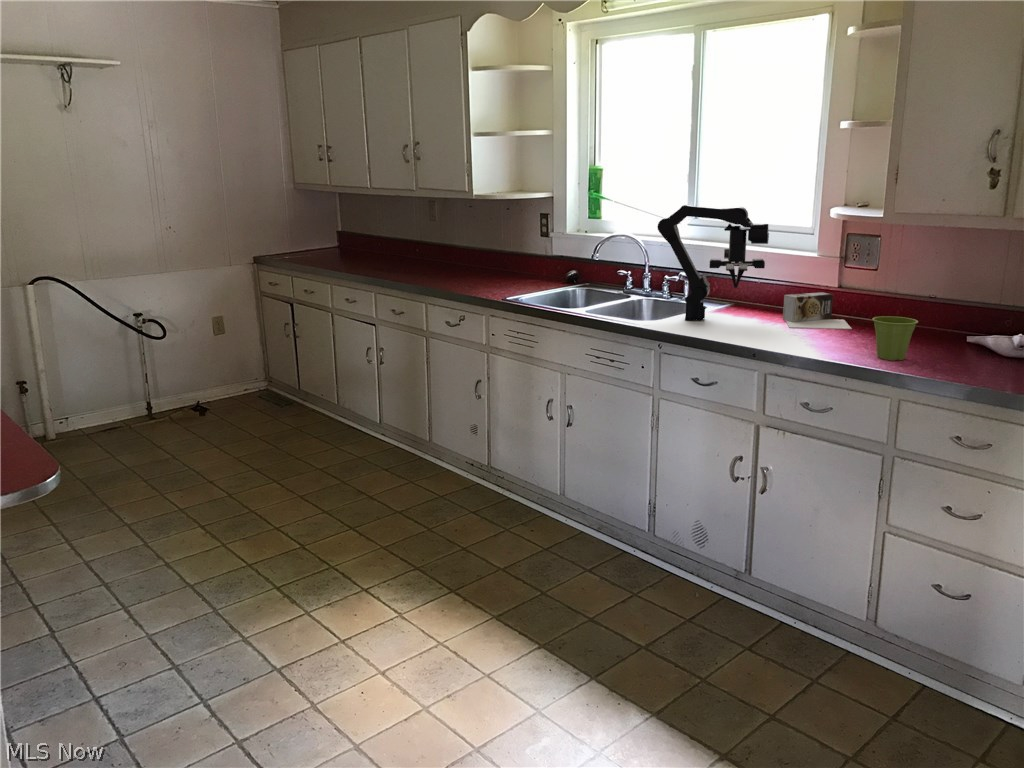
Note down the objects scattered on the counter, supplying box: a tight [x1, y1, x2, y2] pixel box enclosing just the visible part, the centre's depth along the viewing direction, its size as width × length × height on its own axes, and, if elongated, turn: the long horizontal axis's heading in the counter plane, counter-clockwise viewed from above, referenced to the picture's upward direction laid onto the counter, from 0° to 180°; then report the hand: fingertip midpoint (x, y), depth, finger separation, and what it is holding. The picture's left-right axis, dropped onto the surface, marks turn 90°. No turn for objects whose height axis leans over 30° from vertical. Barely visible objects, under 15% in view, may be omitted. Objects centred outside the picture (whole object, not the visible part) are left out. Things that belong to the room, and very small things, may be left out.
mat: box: [785, 318, 853, 330], centre depth 284 cm, size 20×16×1 cm
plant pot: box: [871, 315, 919, 361], centre depth 232 cm, size 12×12×11 cm
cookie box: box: [782, 291, 834, 322], centre depth 290 cm, size 9×6×16 cm
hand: (735, 287), depth 290 cm, fingers closed
